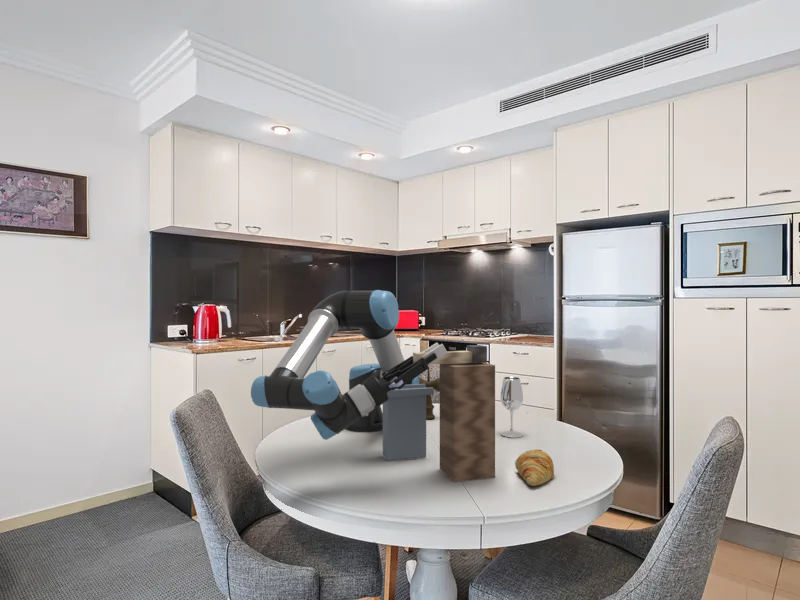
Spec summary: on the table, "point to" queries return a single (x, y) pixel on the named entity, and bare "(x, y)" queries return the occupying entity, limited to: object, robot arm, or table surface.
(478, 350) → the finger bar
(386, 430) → the rail stand
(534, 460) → the croissant
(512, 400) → the wineglass
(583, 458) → the table surface
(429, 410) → the kendama
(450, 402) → the walnut stand
